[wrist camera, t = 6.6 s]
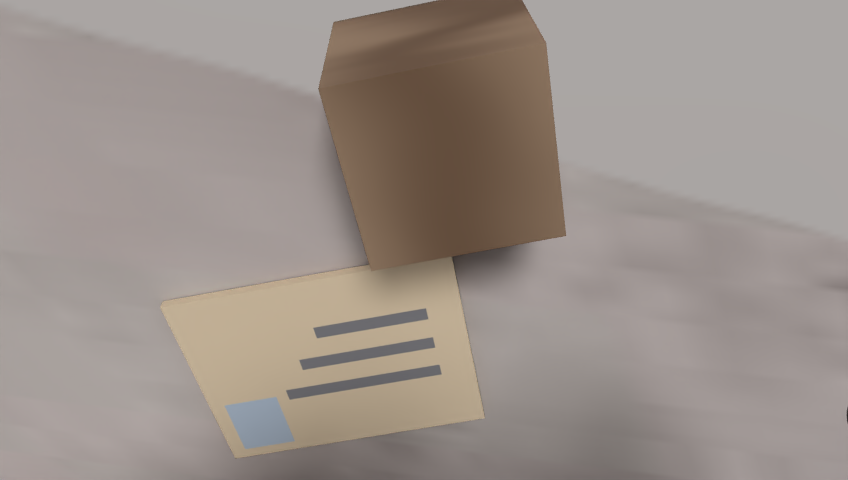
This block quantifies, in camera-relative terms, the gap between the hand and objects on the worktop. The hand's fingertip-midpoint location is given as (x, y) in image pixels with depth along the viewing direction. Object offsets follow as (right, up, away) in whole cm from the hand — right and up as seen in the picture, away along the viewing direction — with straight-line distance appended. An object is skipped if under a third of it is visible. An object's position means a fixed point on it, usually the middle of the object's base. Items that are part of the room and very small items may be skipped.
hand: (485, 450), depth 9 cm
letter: (-4, -1, +15) cm, 15 cm away
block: (0, +7, +10) cm, 12 cm away
